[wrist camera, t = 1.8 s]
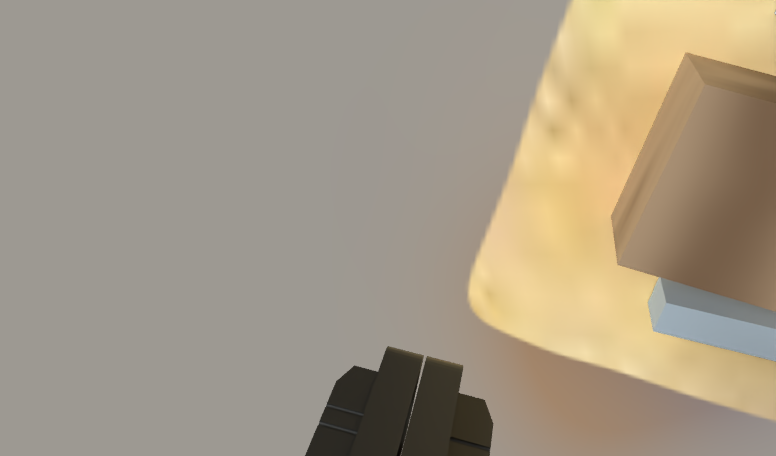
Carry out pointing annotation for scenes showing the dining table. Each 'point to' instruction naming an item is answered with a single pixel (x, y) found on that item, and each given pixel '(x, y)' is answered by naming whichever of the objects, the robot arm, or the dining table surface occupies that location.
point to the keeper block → (706, 186)
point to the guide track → (712, 319)
